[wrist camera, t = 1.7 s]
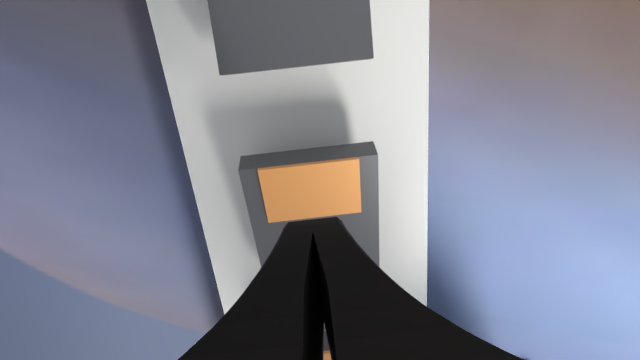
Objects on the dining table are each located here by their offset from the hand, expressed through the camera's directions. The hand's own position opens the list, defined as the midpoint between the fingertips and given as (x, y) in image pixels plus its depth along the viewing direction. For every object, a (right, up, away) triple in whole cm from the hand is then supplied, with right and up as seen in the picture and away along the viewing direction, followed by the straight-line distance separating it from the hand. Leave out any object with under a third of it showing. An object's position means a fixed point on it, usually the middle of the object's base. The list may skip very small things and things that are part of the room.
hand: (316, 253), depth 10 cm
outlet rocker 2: (0, 0, +7) cm, 7 cm away
